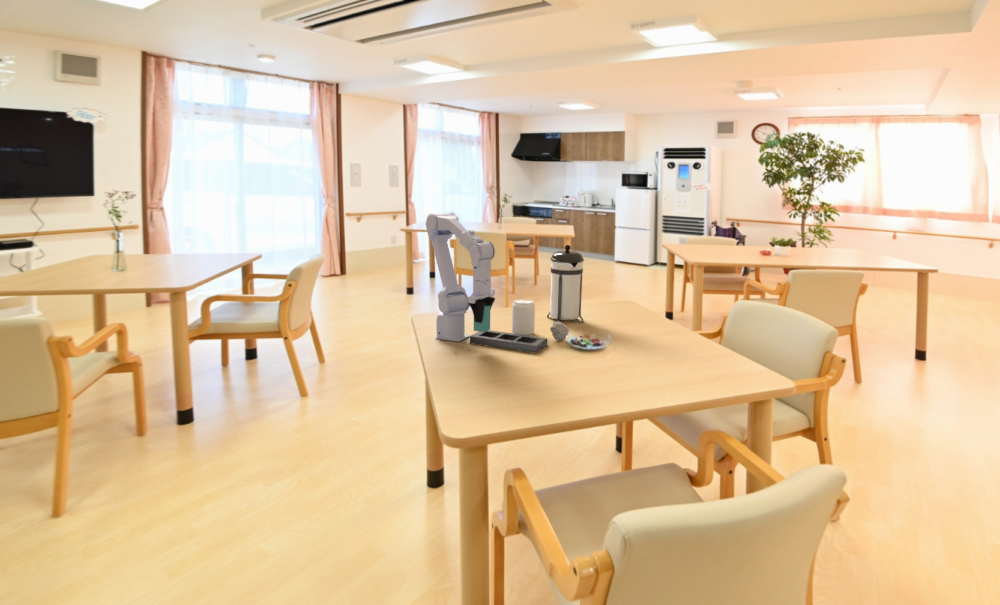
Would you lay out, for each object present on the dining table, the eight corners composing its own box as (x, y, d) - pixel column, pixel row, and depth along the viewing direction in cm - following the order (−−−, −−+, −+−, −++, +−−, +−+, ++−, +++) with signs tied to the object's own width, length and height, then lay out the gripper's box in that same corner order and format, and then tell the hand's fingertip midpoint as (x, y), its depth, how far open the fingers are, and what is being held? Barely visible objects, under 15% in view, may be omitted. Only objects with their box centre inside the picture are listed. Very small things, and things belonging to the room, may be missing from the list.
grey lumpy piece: (545, 341, 209) (546, 321, 208) (558, 337, 214) (559, 318, 212) (559, 344, 205) (560, 325, 203) (572, 340, 210) (573, 321, 208)
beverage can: (538, 332, 220) (539, 300, 217) (527, 337, 213) (527, 304, 210) (519, 329, 224) (519, 297, 221) (507, 334, 217) (508, 301, 215)
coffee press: (591, 318, 241) (594, 244, 234) (573, 327, 228) (577, 248, 221) (552, 312, 250) (555, 240, 243) (533, 320, 237) (535, 244, 230)
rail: (469, 343, 205) (469, 336, 205) (483, 336, 214) (483, 329, 214) (536, 353, 195) (536, 345, 195) (547, 345, 204) (547, 338, 204)
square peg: (473, 330, 196) (473, 306, 194) (479, 327, 199) (479, 304, 198) (484, 332, 194) (484, 308, 192) (490, 329, 198) (490, 305, 196)
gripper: (482, 284, 185) (482, 327, 188) (502, 277, 198) (502, 317, 201) (462, 282, 188) (462, 324, 191) (483, 275, 201) (483, 314, 204)
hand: (481, 320), depth 196 cm, fingers closed on square peg, 4 cm apart
